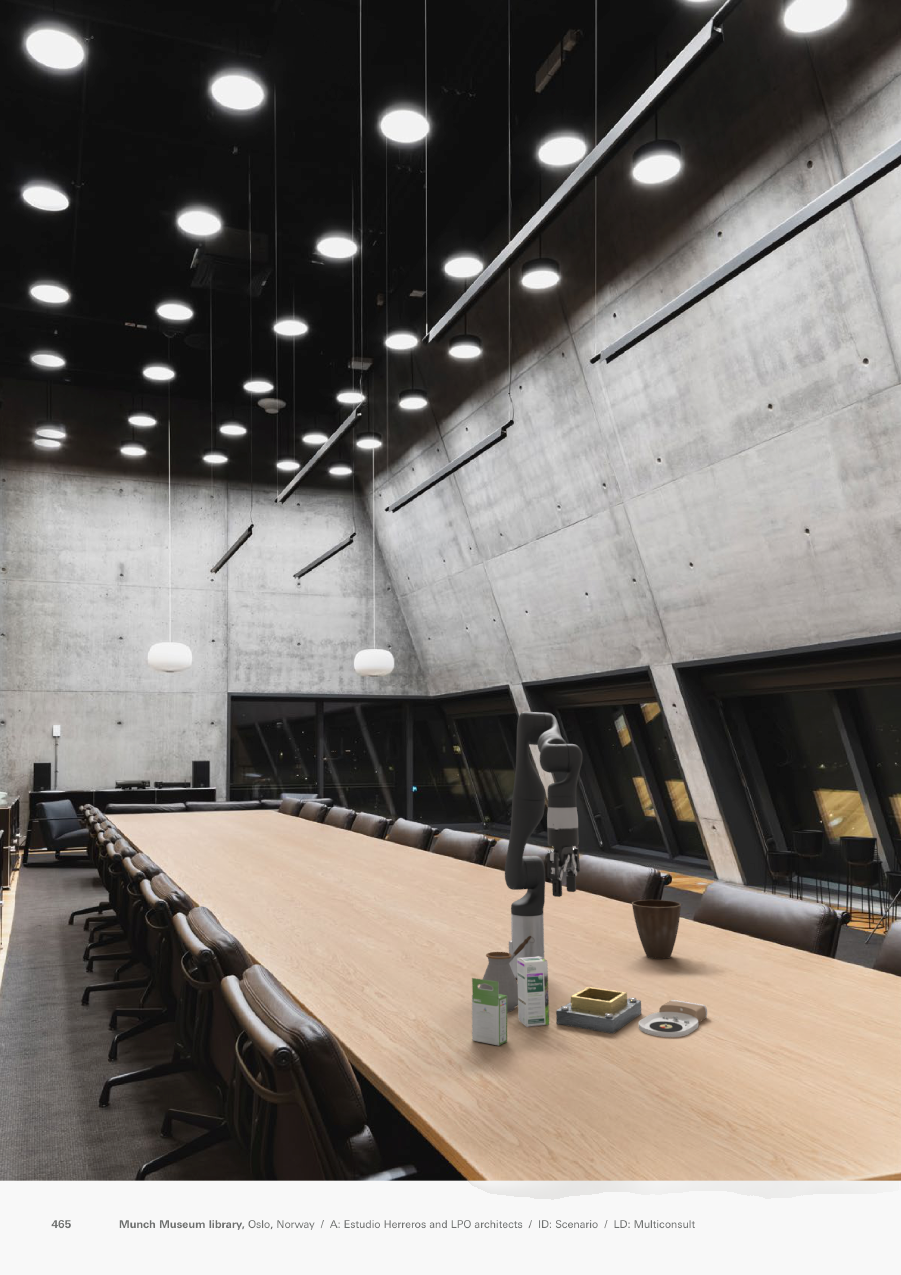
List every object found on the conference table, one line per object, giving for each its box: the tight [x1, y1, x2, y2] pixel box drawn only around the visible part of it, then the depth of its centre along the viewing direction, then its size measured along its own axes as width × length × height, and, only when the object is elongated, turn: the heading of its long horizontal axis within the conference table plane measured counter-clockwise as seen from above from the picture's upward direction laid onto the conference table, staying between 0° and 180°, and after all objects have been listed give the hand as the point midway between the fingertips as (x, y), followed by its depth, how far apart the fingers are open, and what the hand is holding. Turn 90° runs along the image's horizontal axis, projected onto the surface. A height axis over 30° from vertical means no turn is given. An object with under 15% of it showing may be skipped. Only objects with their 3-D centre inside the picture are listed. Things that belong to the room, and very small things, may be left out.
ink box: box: [471, 977, 508, 1046], centre depth 193 cm, size 7×4×13 cm, turn 56°
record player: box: [638, 999, 708, 1038], centre depth 204 cm, size 12×3×20 cm
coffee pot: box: [478, 936, 535, 1013], centre depth 223 cm, size 21×12×15 cm, turn 143°
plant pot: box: [631, 899, 682, 960], centre depth 273 cm, size 15×15×16 cm
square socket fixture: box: [555, 986, 642, 1035], centre depth 209 cm, size 14×18×6 cm
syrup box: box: [516, 956, 550, 1028], centre depth 207 cm, size 6×6×14 cm
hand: (564, 894), depth 213 cm, fingers open, 8 cm apart
